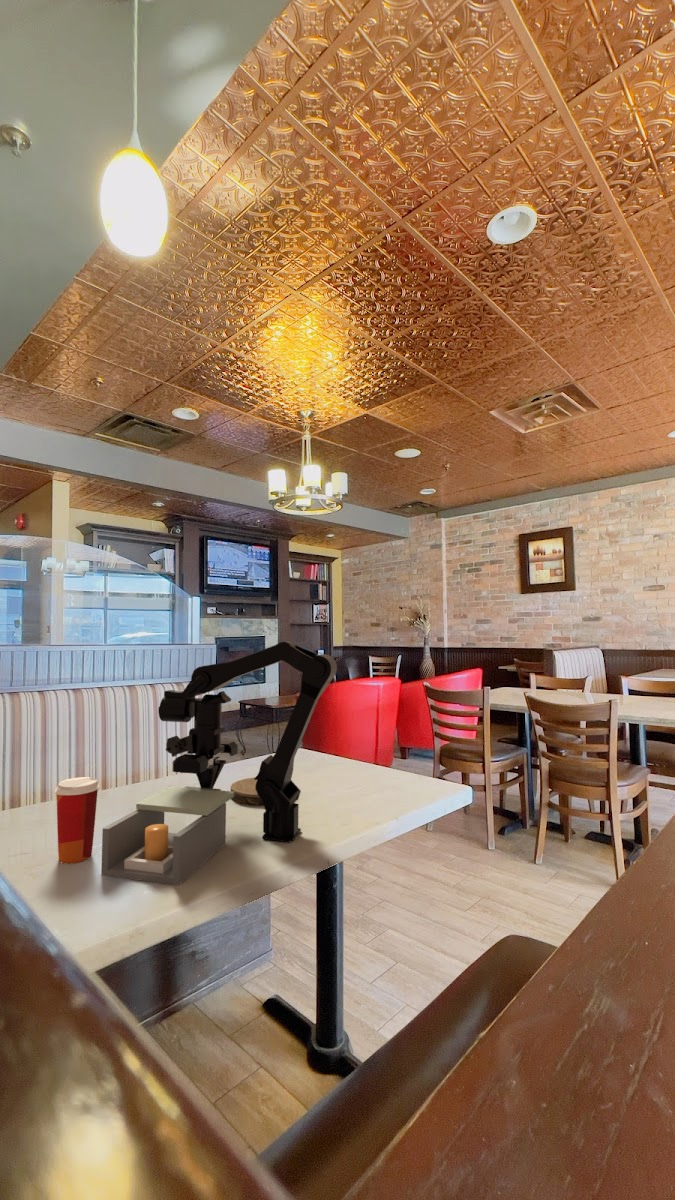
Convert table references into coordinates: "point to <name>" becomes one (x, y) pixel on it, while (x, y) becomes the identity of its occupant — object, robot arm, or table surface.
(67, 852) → the paper cup
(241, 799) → the wood slice coaster
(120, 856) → the housing
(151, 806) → the lid
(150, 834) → the orange rounded cylinder
